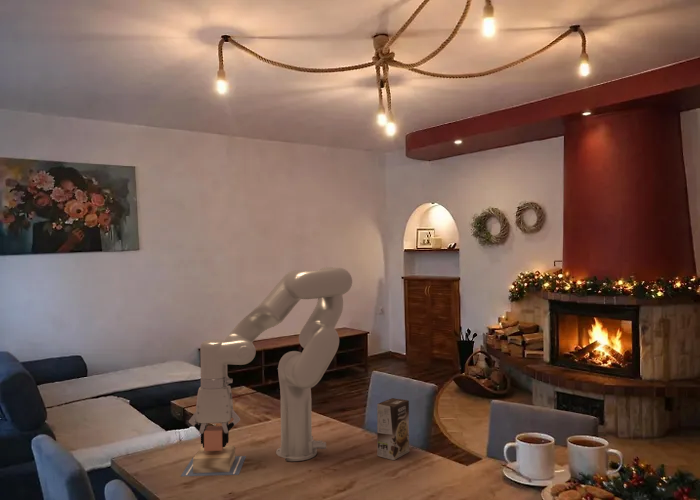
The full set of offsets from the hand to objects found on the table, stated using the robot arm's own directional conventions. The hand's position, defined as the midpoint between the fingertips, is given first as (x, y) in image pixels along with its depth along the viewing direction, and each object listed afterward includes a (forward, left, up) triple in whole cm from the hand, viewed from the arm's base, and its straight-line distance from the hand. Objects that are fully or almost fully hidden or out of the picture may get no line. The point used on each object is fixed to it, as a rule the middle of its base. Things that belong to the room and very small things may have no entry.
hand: (214, 445), depth 158 cm
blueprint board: (0, 0, -7) cm, 7 cm away
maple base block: (0, 0, -6) cm, 6 cm away
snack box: (-53, -8, -7) cm, 54 cm away
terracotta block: (0, 0, -1) cm, 1 cm away
